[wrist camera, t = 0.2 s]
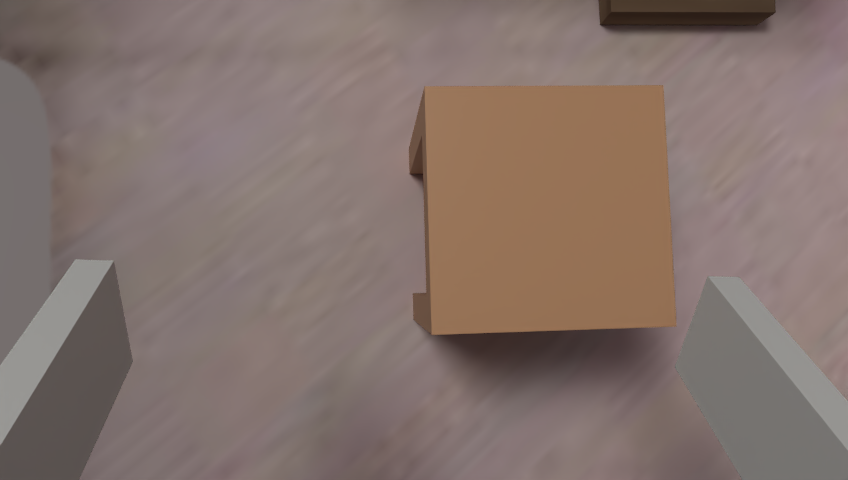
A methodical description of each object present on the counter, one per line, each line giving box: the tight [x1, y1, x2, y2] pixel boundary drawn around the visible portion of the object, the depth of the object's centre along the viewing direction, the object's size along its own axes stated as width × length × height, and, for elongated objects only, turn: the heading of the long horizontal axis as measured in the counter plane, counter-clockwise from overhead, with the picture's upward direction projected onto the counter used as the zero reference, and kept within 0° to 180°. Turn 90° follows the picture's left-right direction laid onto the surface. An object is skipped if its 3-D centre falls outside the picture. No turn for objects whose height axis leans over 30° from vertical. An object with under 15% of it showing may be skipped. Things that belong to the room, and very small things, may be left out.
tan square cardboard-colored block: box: [409, 85, 676, 335], centre depth 26 cm, size 8×8×10 cm
